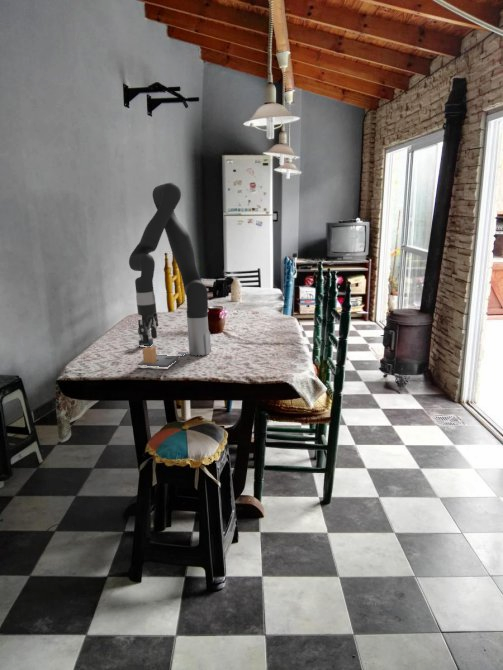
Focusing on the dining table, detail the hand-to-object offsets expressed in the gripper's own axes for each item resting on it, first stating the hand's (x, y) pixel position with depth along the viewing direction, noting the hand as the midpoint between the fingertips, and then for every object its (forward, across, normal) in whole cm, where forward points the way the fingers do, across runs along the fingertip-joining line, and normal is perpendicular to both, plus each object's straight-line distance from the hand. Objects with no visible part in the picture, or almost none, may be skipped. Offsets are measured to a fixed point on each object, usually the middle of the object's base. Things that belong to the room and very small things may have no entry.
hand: (150, 340), depth 215 cm
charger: (+11, 0, +1) cm, 11 cm away
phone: (+12, +18, -2) cm, 21 cm away
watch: (+11, +29, +16) cm, 35 cm away
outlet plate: (+11, +3, -2) cm, 12 cm away
